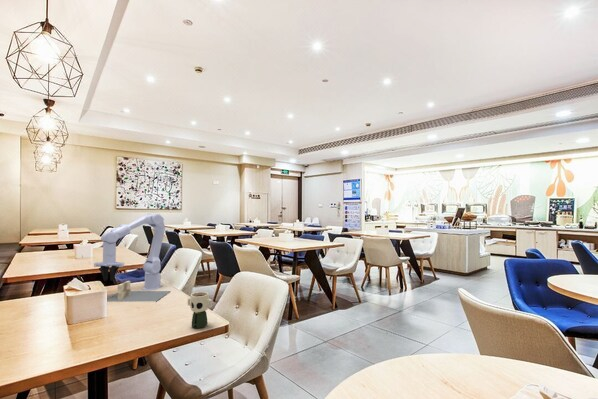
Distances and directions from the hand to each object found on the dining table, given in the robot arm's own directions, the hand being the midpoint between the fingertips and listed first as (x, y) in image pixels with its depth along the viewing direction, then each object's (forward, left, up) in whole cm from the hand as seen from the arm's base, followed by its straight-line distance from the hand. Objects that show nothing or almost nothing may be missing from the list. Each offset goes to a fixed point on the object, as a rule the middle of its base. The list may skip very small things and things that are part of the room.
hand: (108, 280), depth 157 cm
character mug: (+37, +59, -10) cm, 70 cm away
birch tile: (0, +8, -9) cm, 12 cm away
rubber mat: (-2, +14, -9) cm, 17 cm away
